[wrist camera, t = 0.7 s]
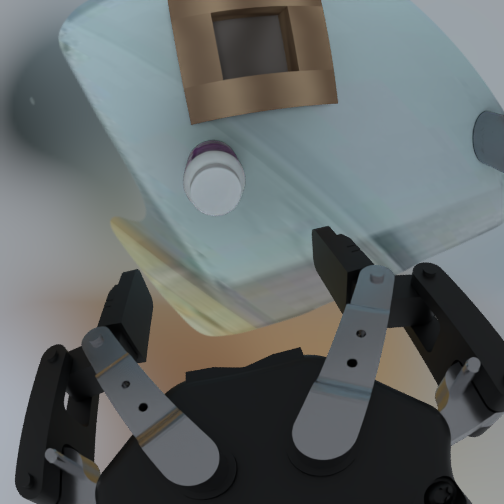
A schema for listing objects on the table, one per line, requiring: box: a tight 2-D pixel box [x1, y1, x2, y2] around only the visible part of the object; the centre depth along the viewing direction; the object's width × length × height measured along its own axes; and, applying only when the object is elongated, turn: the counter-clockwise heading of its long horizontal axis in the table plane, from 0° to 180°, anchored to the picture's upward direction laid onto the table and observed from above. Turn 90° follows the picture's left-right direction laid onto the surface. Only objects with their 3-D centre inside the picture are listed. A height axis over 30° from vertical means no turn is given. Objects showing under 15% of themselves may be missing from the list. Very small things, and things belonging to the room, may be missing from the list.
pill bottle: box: [183, 140, 245, 216], centre depth 25 cm, size 5×5×10 cm
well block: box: [168, 0, 338, 125], centre depth 22 cm, size 14×14×4 cm
